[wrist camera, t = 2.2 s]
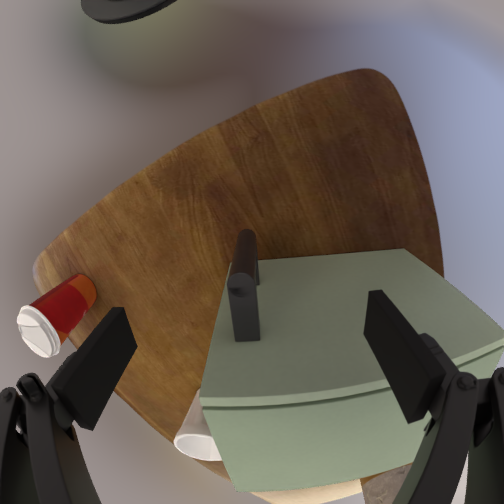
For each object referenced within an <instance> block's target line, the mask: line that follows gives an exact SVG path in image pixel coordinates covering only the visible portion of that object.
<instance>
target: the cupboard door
mask: <svg viewBox="0 0 504 504" xmlns="http://www.w3.org/2000/svg"><path fill="white" fill-rule="evenodd" d="M380 289H382V290H383V292H384V293H385V294H386V295H387V296H388V297H389V299H390V300H391V301H392V302H393V303H394V305H395V306H396V307H397V308H398V309H399V311H400V312H401V313H402V314H403V316H404V317H405V318H406V319H407V321H408V322H409V323H410V324H411V326H412V327H413V328H414V329H415V331H416V332H417V333H418V334H422V333H427V334H428V335H430V336H431V337H433V338H434V339H435V340H436V341H437V342H438V344H439V346H441V347H442V349H443V350H444V352H446V354H447V355H448V356H449V358H450V359H451V360H452V361H453V363H454V364H455V365H456V366H457V365H459V364H462V363H464V362H467V361H469V360H472V359H474V358H476V357H479V356H481V355H483V354H485V353H488V352H490V351H492V350H494V349H496V348H498V347H500V346H502V345H504V330H503V329H502V328H501V327H500V326H499V325H498V324H497V323H496V322H495V321H494V320H493V319H491V317H489V316H488V315H487V314H486V313H485V312H484V311H483V310H482V309H480V308H479V307H478V306H477V305H476V304H474V303H473V302H472V301H471V300H470V299H469V298H467V297H466V296H465V295H464V294H463V293H461V292H460V291H459V290H458V289H457V288H455V287H454V286H453V285H452V284H450V283H449V282H448V281H447V280H445V279H444V278H443V277H441V276H440V275H439V274H438V273H436V272H435V271H434V270H432V269H431V268H430V267H428V266H427V265H426V264H424V263H423V262H422V261H420V260H419V259H418V258H416V257H415V256H413V255H412V254H411V253H409V252H408V251H406V250H405V249H392V250H380V251H369V252H357V253H345V254H333V255H321V256H309V257H296V258H283V259H270V260H258V254H257V243H256V235H255V233H254V232H253V231H252V230H250V229H244V230H242V231H241V232H240V233H239V235H238V239H237V243H236V247H235V251H234V255H233V259H232V262H231V263H230V266H229V270H228V274H227V278H226V282H225V286H224V290H223V294H222V298H221V302H220V306H219V311H218V315H217V319H216V323H215V327H214V332H213V336H212V340H211V344H210V348H209V353H208V357H207V361H206V366H205V370H204V374H203V379H202V383H201V388H200V392H199V400H200V403H201V406H263V405H279V404H291V403H300V402H309V401H317V400H324V399H331V398H337V397H343V396H349V395H354V394H359V393H364V392H369V391H373V390H378V389H382V388H386V387H390V385H389V383H388V381H387V379H386V377H385V375H384V373H383V371H382V369H381V367H380V365H379V363H378V361H377V359H376V357H375V355H374V353H373V352H372V350H371V348H370V346H369V344H368V342H367V340H366V338H365V336H364V335H363V332H364V325H365V318H366V310H367V301H368V292H369V291H372V290H380Z"/></svg>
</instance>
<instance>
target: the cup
mask: <svg viewBox="0 0 504 504" xmlns="http://www.w3.org/2000/svg"><path fill="white" fill-rule="evenodd" d="M199 392H200V389H198V391H197V392H196V395H195V397H194V400H193V402H192V404H191V406H190V409H189V411H188V413H187V415H186V418H185V420H184V422H183V424H182V427H181V428H180V429H179V431H178V432H177V434H176V437H175V439H174V444H175V446H176V448H177V449H178V450H180V451H181V452H182V453H184V454H186V455H188V456H190V457H193V458H196V459H200V460H208V461H218V460H222V459H221V456H220V454H219V452H218V449H217V447H216V444H215V442H214V440H213V437H212V435H211V432H210V430H209V427H208V424H207V422H206V419H205V416H204V414H203V411H202V408H203V406H201V403H200V400H199Z"/></svg>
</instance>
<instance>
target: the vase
mask: <svg viewBox="0 0 504 504" xmlns="http://www.w3.org/2000/svg"><path fill="white" fill-rule="evenodd" d="M412 463H413V462H411V463H409V464H406V465H403V466H400V467H397V468H394V469H391V470H388V471H385V472H382V473H378V474H375V475H371V476H367V477H363V478H360V482H361V486H362V490H363V495H364V499H365V504H392V502H393V501H394V499H395V497H396V495H397V494H398V492H399V490H400V488H401V486H402V484H403V482H404V480H405V478H406V476H407V474H408V472H409V470H410V468H411V466H412Z"/></svg>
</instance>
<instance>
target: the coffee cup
mask: <svg viewBox="0 0 504 504" xmlns="http://www.w3.org/2000/svg"><path fill="white" fill-rule="evenodd" d="M96 298H97V292H96V288H95V286H94V284H93V283H92V281H91V280H90V279H89V278H88V277H86V276H85V275H82V274H76V275H74V276H72V277H71V278H69V279H67V280H66V281H64V282H63V283H61V284H59V285H58V286H56V287H55V288H53V289H52V290H50V291H49V292H47V293H46V294H44V295H43V296H42V297H40V298H39V299H37V300H36V301H34V302H33V303H32V304H30V305H29V306H28V305H27V306H23V307H22V308H21V310H20V314H19V315H18V317H17V323H18V324H19V326H18V327H19V330H20V333H21V334H22V338H23V340H24V341H25V343H26V344H27V345H28V346H29V347H30V348H31V349H32V350H33V351H34V352H35V353H37V354H38V355H40V356H42V357H45V358H48V357H51V356H53V355H56V354H58V353H59V351H60V346H61V345H62V343H63V342H64V341H65V339H66V338H67V337H68V336H69V334H70V333H71V332H72V330H73V329H74V328H75V326H76V325H77V324H78V323H79V321H80V320H81V319H82V318H83V316H84V315H85V314H86V312H87V311H88V310H89V309H90V307H91V306H92V305H93V303H94V302H95V300H96Z"/></svg>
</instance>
